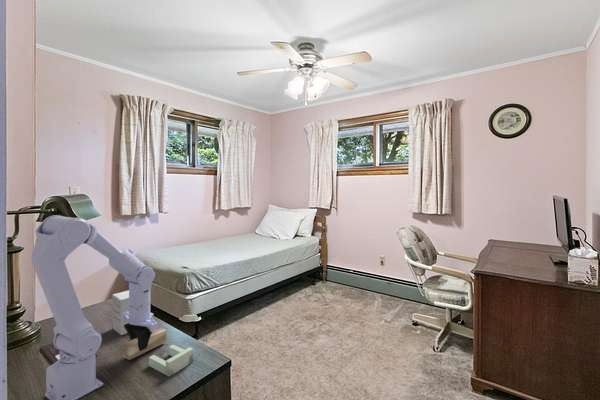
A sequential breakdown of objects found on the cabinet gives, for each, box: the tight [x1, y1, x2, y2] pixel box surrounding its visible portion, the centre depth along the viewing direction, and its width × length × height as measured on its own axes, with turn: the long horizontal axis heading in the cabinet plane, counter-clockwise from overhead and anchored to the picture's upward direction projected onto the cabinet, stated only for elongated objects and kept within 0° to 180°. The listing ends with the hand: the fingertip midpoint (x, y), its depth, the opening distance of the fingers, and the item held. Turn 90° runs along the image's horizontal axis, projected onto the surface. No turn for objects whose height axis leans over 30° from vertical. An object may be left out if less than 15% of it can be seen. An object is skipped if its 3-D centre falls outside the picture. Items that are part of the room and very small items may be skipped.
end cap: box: [148, 344, 194, 377], centre depth 86 cm, size 8×9×4 cm
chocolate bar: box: [39, 342, 98, 365], centre depth 90 cm, size 9×1×18 cm
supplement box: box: [112, 289, 129, 336], centre depth 105 cm, size 7×7×13 cm
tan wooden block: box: [123, 327, 167, 361], centre depth 92 cm, size 3×12×4 cm, turn 151°
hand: (139, 347), depth 90 cm, fingers closed on tan wooden block, 3 cm apart
